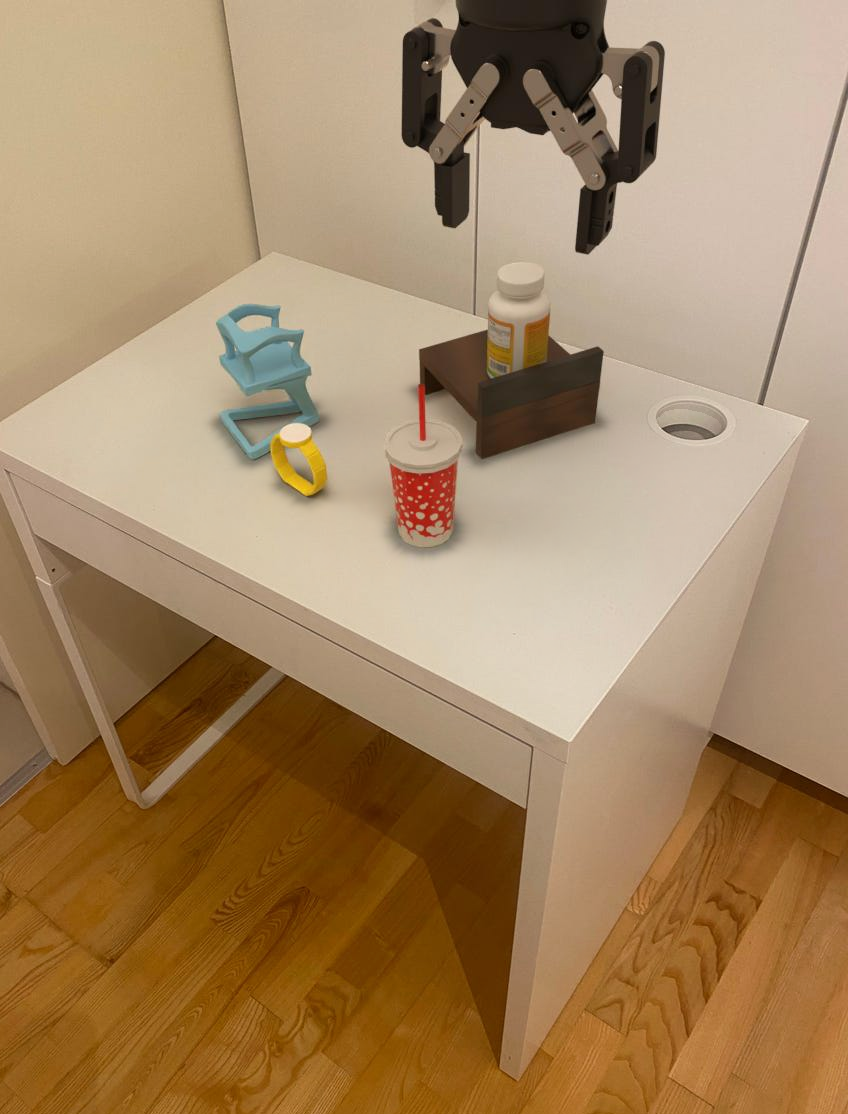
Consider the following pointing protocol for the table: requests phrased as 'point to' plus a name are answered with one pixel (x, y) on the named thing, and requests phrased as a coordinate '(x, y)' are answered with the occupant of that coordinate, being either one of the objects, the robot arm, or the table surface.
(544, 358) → the supplement bottle
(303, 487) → the watch
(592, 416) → the shelf
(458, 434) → the beverage cup
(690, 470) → the table surface
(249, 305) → the chair
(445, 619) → the table surface
